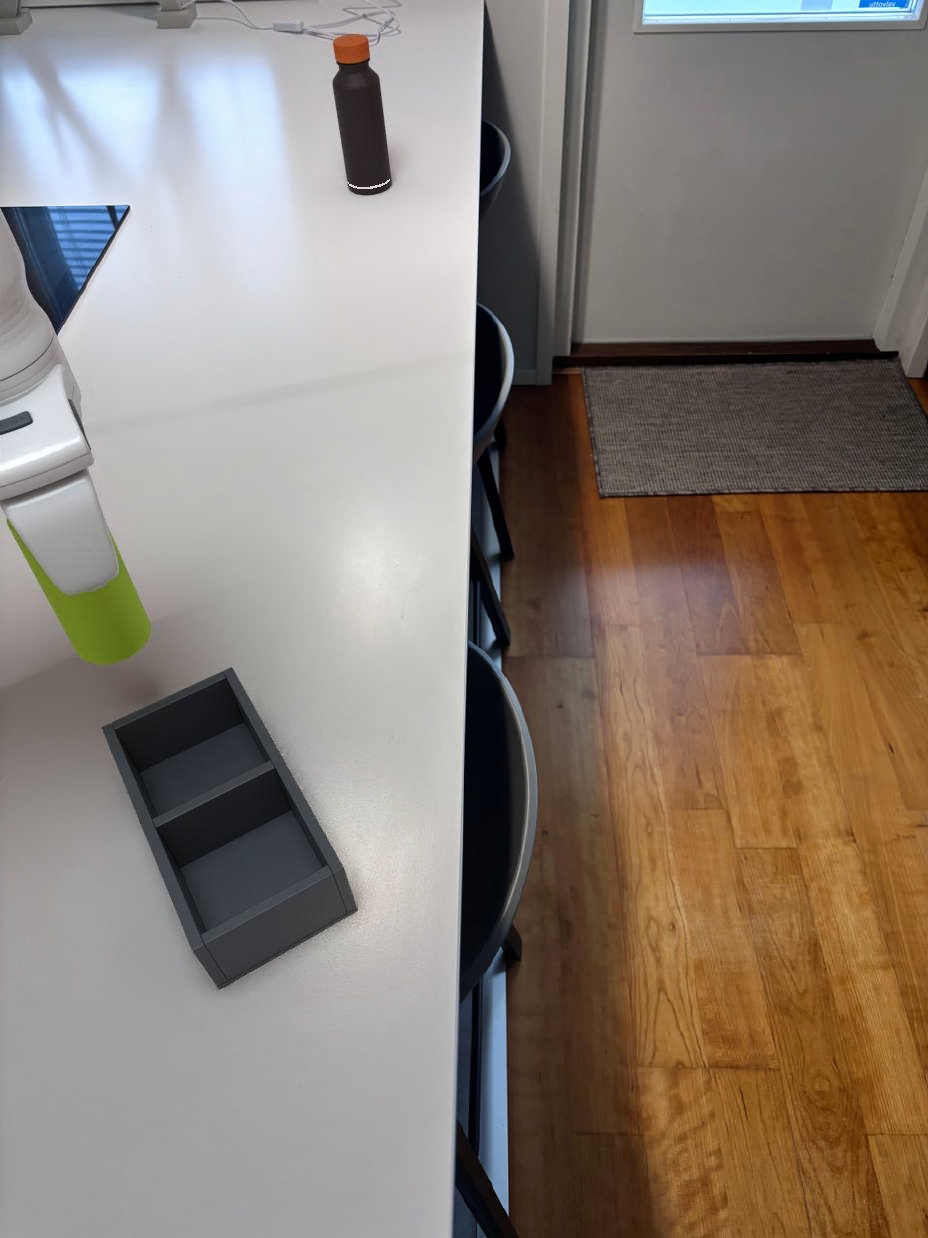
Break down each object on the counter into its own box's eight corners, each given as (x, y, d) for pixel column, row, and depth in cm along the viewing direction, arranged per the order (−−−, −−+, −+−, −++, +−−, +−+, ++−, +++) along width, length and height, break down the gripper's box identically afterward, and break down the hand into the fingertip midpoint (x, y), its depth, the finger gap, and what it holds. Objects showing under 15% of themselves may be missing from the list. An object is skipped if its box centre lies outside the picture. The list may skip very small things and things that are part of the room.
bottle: (344, 180, 147) (322, 35, 132) (387, 172, 148) (370, 28, 133) (351, 198, 143) (329, 51, 128) (395, 191, 144) (378, 43, 129)
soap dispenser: (121, 681, 71) (13, 467, 56) (58, 646, 74) (-60, 434, 59) (176, 630, 74) (88, 416, 59) (114, 599, 77) (16, 387, 62)
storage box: (218, 990, 64) (192, 951, 59) (129, 773, 76) (100, 727, 72) (358, 910, 67) (344, 868, 63) (250, 714, 80) (231, 666, 75)
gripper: (-84, 331, 63) (5, 491, 73) (-20, 500, 51) (75, 663, 61) (12, 301, 65) (85, 461, 75) (95, 457, 53) (168, 622, 63)
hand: (81, 553), depth 68 cm, fingers closed on soap dispenser, 6 cm apart
